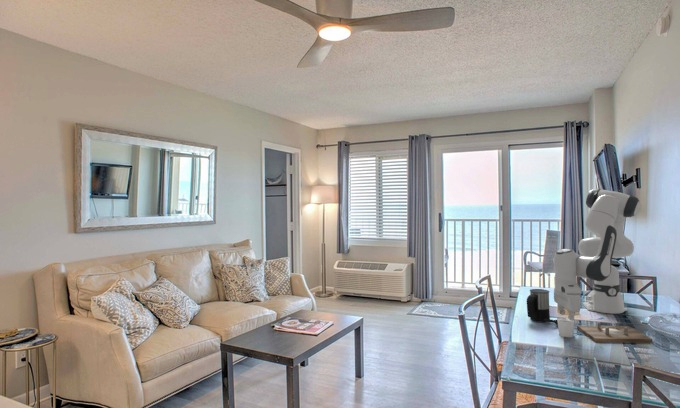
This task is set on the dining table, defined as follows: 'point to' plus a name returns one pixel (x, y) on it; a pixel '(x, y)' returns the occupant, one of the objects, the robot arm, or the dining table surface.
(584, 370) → the dining table surface
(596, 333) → the pin board
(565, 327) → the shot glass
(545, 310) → the milk frother
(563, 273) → the robot arm
